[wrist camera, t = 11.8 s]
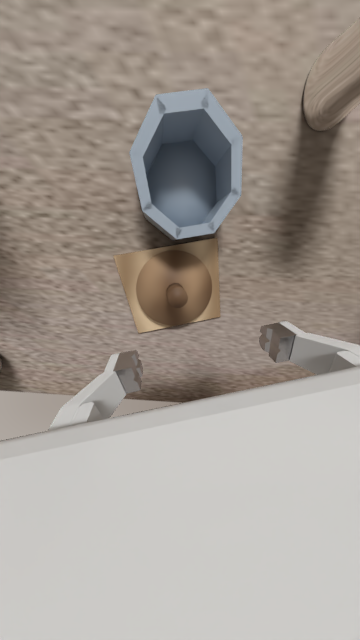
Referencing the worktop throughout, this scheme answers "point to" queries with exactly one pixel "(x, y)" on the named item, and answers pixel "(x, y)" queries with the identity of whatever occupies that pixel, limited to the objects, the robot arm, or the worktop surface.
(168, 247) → the tan flat square piece
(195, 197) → the bowl
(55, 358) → the worktop surface
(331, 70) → the beer glass
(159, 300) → the lid
